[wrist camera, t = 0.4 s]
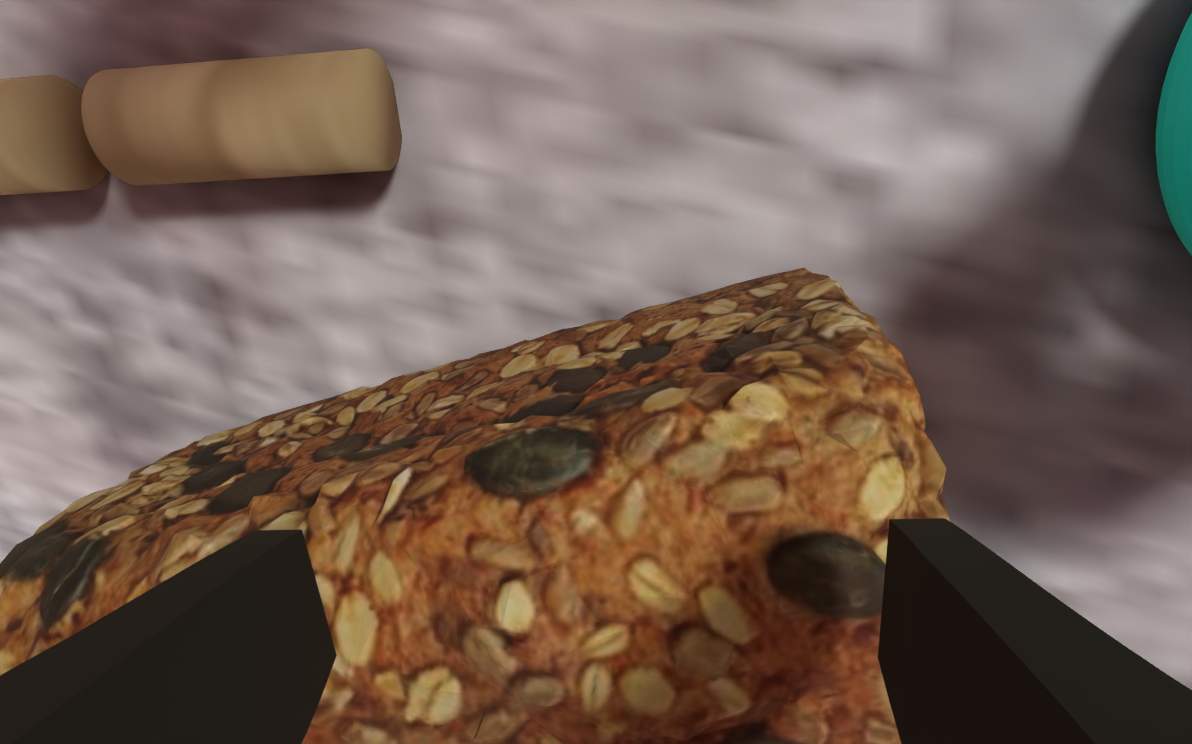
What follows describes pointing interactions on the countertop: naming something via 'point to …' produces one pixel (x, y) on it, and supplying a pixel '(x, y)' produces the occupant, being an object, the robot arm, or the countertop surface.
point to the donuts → (1177, 138)
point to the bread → (560, 530)
